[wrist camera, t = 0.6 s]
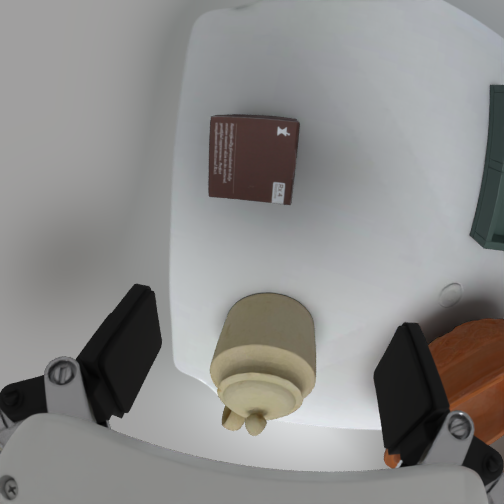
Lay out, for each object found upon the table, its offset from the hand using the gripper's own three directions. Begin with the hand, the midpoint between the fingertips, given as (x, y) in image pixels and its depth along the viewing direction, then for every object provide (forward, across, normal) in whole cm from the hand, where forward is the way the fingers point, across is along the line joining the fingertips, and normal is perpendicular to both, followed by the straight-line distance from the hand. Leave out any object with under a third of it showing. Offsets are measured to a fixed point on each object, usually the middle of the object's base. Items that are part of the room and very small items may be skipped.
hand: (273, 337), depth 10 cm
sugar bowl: (+19, -1, +19) cm, 27 cm away
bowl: (+19, -28, +18) cm, 38 cm away
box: (+19, +3, -4) cm, 20 cm away
